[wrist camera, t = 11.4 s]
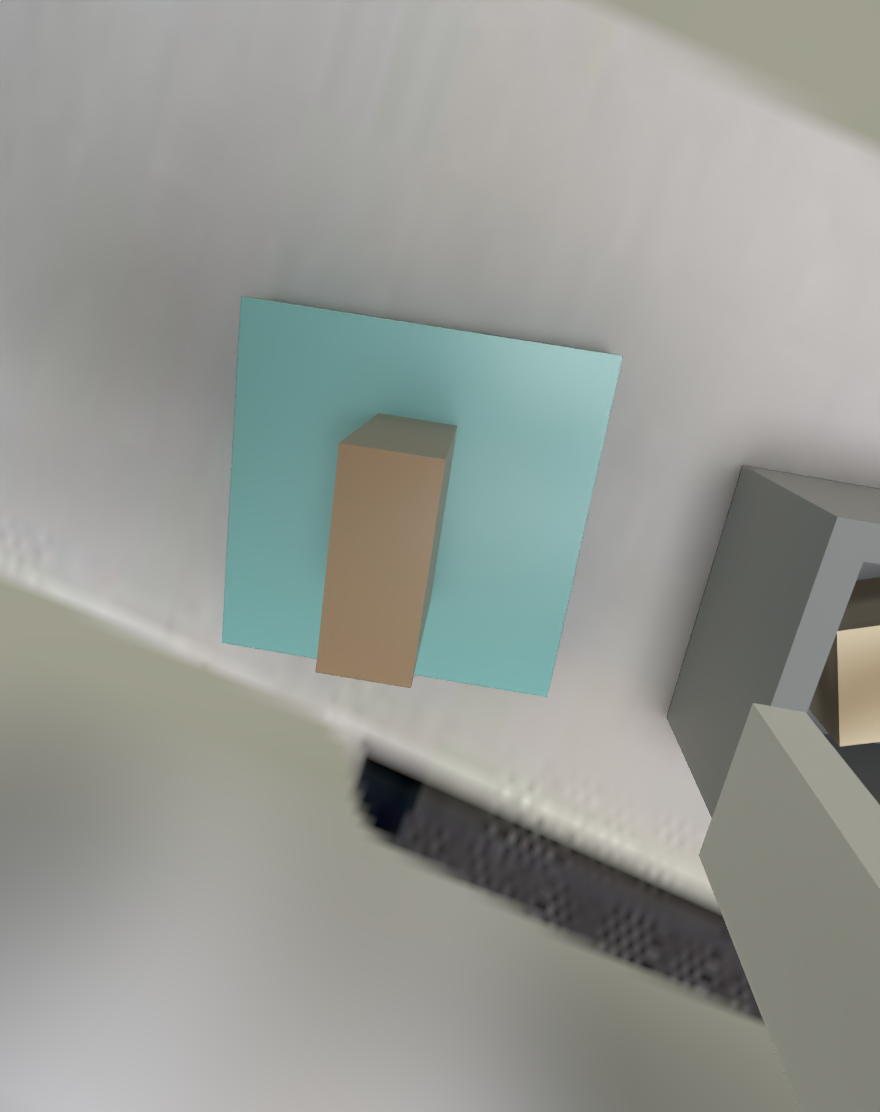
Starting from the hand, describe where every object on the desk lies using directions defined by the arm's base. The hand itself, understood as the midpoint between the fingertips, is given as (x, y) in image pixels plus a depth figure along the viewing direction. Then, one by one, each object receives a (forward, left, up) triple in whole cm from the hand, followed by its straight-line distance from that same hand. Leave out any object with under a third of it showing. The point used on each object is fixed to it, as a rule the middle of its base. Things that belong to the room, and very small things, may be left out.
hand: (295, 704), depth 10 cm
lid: (0, 0, -16) cm, 16 cm away
